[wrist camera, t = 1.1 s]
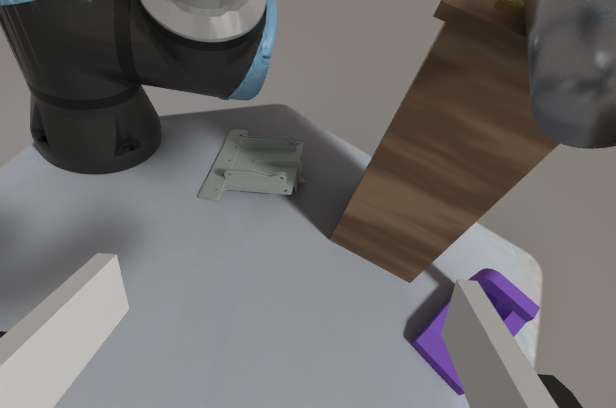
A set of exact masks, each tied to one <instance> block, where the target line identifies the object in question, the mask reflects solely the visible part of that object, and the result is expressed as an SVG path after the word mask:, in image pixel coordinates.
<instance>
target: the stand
mask: <svg viewBox="0 0 616 408" xmlns="http://www.w3.org/2000/svg"><path fill="white" fill-rule="evenodd" d="M493 6H494V0H441V2H440V4H439V6H438V8H437V10H436V12H435V14H434V17H436V18H438V19H440V20H443V21H445V22H444V24H443V26H442V28H441V30H440V32H439V34H438V35H437V37H436V39H435V41H434V43H433V45H432V46H431V48H430V50H429V52H428V54H427V56H426V58H425V60H424V62H423V63H422V65H421V67H420V69H419V71H418V73H417V75H416V77H415V78H414V80H413V82H412V84H411V86H410V88H409V90H408V91H407V93H406V95H405V97H404V99H403V101H402V103H401V105H400V106H399V109H398V110H397V112H396V114H395V116H394V118H393V120H392V122H391V123H390V125H389V127H388V129H387V131H386V133H385V135H384V137H383V138H382V140H381V142H380V144H379V146H378V148H377V149H376V151H375V153H374V155H373V157H372V159H371V161H370V163H369V164H368V166H367V168H366V170H365V172H364V174H363V176H362V178H361V179H360V181H359V183H358V185H357V187H356V189H355V191H354V193H353V195H352V197H351V199H350V201H349V203H348V204H347V206H346V208H345V210H344V212H343V214H342V216H341V218H340V220H339V222H338V224H337V226H336V228H335V230H334V232H333V234H332V236H331V238H330V239H329V240H331V241H333V242H334V243H336V244H338V245H340V246H342V247H344V248H346V249H348V250H349V251H351V252H353V253H355V254H357V255H359V256H361V257H363V258H365V259H366V260H368V261H370V262H372V263H374V264H376V265H378V266H380V267H381V268H383V269H385V270H387V271H389V272H391V273H393V274H395V275H396V276H398V277H400V278H402V279H404V280H406V281H408V282H410V283H411V282H412V281H413V280H414V279H415V278H416V277H417V276H418V275H419V274H420V273H421V272H422V271H423V270H425V269H426V268H427V267H428V266H429V265H430V264H431V263H432V262H433V261H434V260H435V259H436V258H437V257H439V256H440V255H441V254H442V253H443V252H444V251H445V250H446V249H447V248H448V247H449V246H450V245H451V244H452V243H454V242H455V241H456V240H457V239H458V238H459V237H460V236H461V235H462V234H463V233H464V232H465V231H466V230H467V229H469V228H470V227H471V226H472V225H473V224H474V223H475V222H476V221H477V220H478V219H479V218H480V217H481V216H482V215H484V214H485V213H486V212H487V211H488V210H489V209H490V208H491V207H492V206H493V205H494V204H495V203H496V202H497V201H498V200H500V199H501V198H502V197H503V196H504V195H505V194H506V193H507V192H508V191H509V190H510V189H511V188H512V187H514V186H515V185H516V184H517V183H518V182H519V181H520V180H521V179H522V178H523V177H524V176H525V175H526V174H528V173H529V171H531V170H532V169H533V168H534V167H535V166H536V165H537V164H538V163H539V162H540V161H542V160H543V159H544V158H545V157H546V156H547V155H548V154H549V153H550V152H551V151H552V150H553V149H554V148H555V147H557V146H558V145H559V144H560V143H558V142H556V141H554V140H552V139H551V138H549V137H548V136H546V135H545V134H544V133H543V132H542V131H541V130H540V129H539V128H538V126H537V125H536V123H535V121H534V119H533V115H532V112H531V97H530V82H529V67H528V52H527V36H526V21H525V20H523V19H521V18H518V17H516V16H514V15H511V14H509V13H507V12H504V11H502V10H500V9H497V8H495V7H493Z"/></svg>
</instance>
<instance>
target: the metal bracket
mask: <svg viewBox="0 0 616 408" xmlns="http://www.w3.org/2000/svg"><path fill="white" fill-rule="evenodd" d="M248 134H249V132H248V131H247V130H240V129H232V130H230V131H229V133H228V135H227V137H226V139H225V141H224V145H223V147H222V149H221V151H220V153H219V155H218V157H217V159H216V161H215V163H214V165H213V167H212V169H211V171H210V173H209V175H208V177H207V179H206V180H205V181H204V183H203V185H202V187H201V189H200V191H199V193H198V195H197V197H198V198H200V199H209V200H219V199H220V198H221V195H222V193H223V191H224V190H235V191H248V192H260V193H273V194H285V195H290V194H292V191H293V187H294V188H295V192H296V191H297V187H298V183H304V184H305V181H306V180H305V178H304V179H303V178H301V175H302V168H303V161H300V158H301V154H302V150H303V146H304V142H296V140H295V139H293V138H289V139H285V140H282V141H280V140H276V139H273V138H269V137H264V136H248ZM296 144H299V145H296ZM223 174H224V175H223ZM215 190H217V191H215ZM284 190H287V192H284Z"/></svg>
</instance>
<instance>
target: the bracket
mask: <svg viewBox="0 0 616 408" xmlns="http://www.w3.org/2000/svg"><path fill="white" fill-rule="evenodd" d="M469 280H471V281H478V283H479V285H480V286H481V288H482V289H483V291H484V292H485V294H486V295H487V297H488V299H489V300H490V302H491V303H492V305H493V306H494V308H495V309H496V311H497V313H498V314H499V316H500V317H501V319H502V320H503V322H504V323H505V325H506V327H507V328H508V330H509V331H510V333H511V334H512V336H513V337H514V336H515V335H516V334H517V333H518V331H519V330H520V329H521V328H522V327H523V326H524V324H525V323H526V322H528V321H530V320H532V319H534V318H535V316H536V314H537V312H538V310H539V308H540V307H539V306H537V305H536V304H535V303H534V302H533V301H532V300H530V299H529V298H528V297H527V296H526V295H525V294H524V293H522V292H521V291H520V290H519V289H518V288H517V287H516V286H514V285H513V284H512V283H511V282H510V281H509V280H508V279H506V278H505V277H504V276H503V275H502V274H501V273H499V272H498V271H496V270H493V269H482V270H481V271H479V272H478V273H477V274H475V275H474V276H473V277H471V278H470V279H469ZM451 297H452V295H451ZM451 297H450V298H449V299H448V300H447V301H446V303H445V304H444V305H443V306H442V307H441V309H440V310H439V311H438V312H437V313H436V315H435V316H434V317H433V318H432V319H431V321H430V322H429V323H428V324H427V325H426V327H425V328H424V329H423V330H422V331H421V333H420V334H419V335H418V336H417V337H416V339H415V340H414V341H413V342H412V343H411V345H412V346H413V347H414V348H415V349H416V350H417V351H418V352H419V353H420V354H421V355H422V356H423V357H424V358H425V359H426V361H427V362H428V363H429V364H430V365H431V366H432V367H433V368H434V369H435V370H436V371H437V372H438V373H439V374H440V376H441V377H442V378H443V379H444V380H445V381H446V382H447V383H448V384H449V385H450V386H451V387H452V388H453V389H454V391H455V392H456V393H457V394H458V395H461V394H464V391H463V388H462V386H461V383H460V381H459V378H458V375H457V373H456V370H455V368H454V365H453V363H452V360H451V358H450V355H449V353H448V350H447V348H446V345H445V343H444V340H443V337H442V335H441V332H442V328H443V325H444V322H445V318H446V315H447V311H448V308H449V304H450V301H451Z"/></svg>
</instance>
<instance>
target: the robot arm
mask: <svg viewBox="0 0 616 408" xmlns="http://www.w3.org/2000/svg"><path fill="white" fill-rule="evenodd" d="M0 25H1V27H2V30H3V32H4V34H5V36H6V38H7V41H8V43H9V45H10V47H11V49H12V52H13V54H14V56H15V58H16V60H17V63H18V65H19V67H20V69H21V72H22V74H23V76H24V78H25V80H26V82H27V85H28V87H29V89H30V92H31V112H30V115H31V116H30V129H31V134H32V137H33V140H34V142H35V144H36V146H37V148H38V150H39V151H40V153H41V154H42V156H43V157H44V158H45V159H46V160H48V161H49V162H50V163H52V164H54V165H55V166H57V167H60V168H62V169H65V170H68V171H72V172H76V173H83V174H108V173H114V172H119V171H123V170H126V169H129V168H132V167H134V166H137V165H139V164H140V163H142V162H144V161H145V160H147V159H148V158H149V157H151V156H152V155H153V154H154V153H155V151H156V150H157V149H158V147H159V145H160V142H161V137H162V134H161V125H160V120H159V117H158V114H157V112H156V111H155V109H154V107H153V105H152V103H151V102H150V100H149V98H148V96H147V95H146V93H145V91H144V89H143V87H142V86H141V84H142V85H148V86H155V87H161V88H166V89H173V90H179V91H185V92H191V93H197V94H203V95H209V96H214V97H219V98H220V99H223V100H229V99H236V100H250V99H252V98H254V97H255V96H256V95H257V94H258V93H259V91H260V90H261V88H262V85H263V83H264V80H265V78H266V75H267V71H268V68H269V59H270V57H271V55H272V51H273V47H274V42H275V35H276V28H277V4H276V1H275V0H0ZM128 310H129V306H128V302H127V298H126V293H125V289H124V285H123V280H122V276H121V272H120V267H119V263H118V259H117V254H103V253H97V254H96V255H95V256H94V257H92V258H91V259H90V260H89V261H88V262H87V263H86V264H84V265H83V266H82V267H81V268H80V269H79V270H78V271H76V272H75V273H74V274H73V275H72V276H71V277H70V278H68V279H67V280H66V281H65V282H64V283H63V284H62V285H60V286H59V287H58V288H57V289H56V290H55V291H54V292H52V293H51V294H50V295H49V296H48V297H47V298H46V299H44V300H43V301H42V302H41V303H40V304H39V305H38V306H37V307H35V308H34V309H33V310H32V311H31V312H30V313H29V314H27V315H26V316H25V317H24V318H23V319H22V320H21V321H19V322H18V323H17V324H16V325H15V326H14V327H13V328H11V329H10V330H9V331H8V332H2V331H1V332H0V408H53V407H54V406H55V405H56V403H57V402H58V401H59V399H60V398H61V397H62V396H63V394H64V393H65V392H66V390H67V389H68V388H69V386H70V385H71V384H72V383H73V381H74V380H75V379H76V377H77V376H78V375H79V373H80V372H81V371H82V370H83V368H84V367H85V366H86V364H87V363H88V362H89V361H90V359H91V358H92V357H93V355H94V354H95V353H96V351H97V350H98V349H99V348H100V346H101V345H102V344H103V342H104V341H105V340H106V338H107V337H108V336H109V335H110V333H111V332H112V331H113V329H114V328H115V327H116V326H117V324H118V323H119V322H120V320H121V319H122V318H123V316H124V315H125V314H126V313H127V311H128ZM441 335H442V337H443V340H444V343H445V345H446V348H447V350H448V353H449V355H450V358H451V360H452V363H453V365H454V368H455V370H456V373H457V375H458V378H459V381H460V383H461V386H462V388H463V391H464V393H465V396H466V398H467V401H468V403H469V406H470V408H583V407H582V406H581V405H580V403H579V402H578V401H577V399H576V398H575V396H574V395H573V393H572V392H571V391H569V389H567V388H566V387H565V386H564V385H563V384H562V383H561V382H560V381H559V380H557V379H556V378H555V377H554V376H553V375H540V374H536V372H535V370H534V369H533V367H532V366H531V364H530V362H529V361H528V359H527V358H526V356H525V355H524V353H523V352H522V350H521V348H520V347H519V345H518V344H517V342H516V341H515V339H514V338H513V336H512V334H511V333H510V331H509V330H508V328H507V327H506V325H505V323H504V322H503V320H502V319H501V317H500V316H499V314H498V313H497V311H496V309H495V308H494V306H493V305H492V303H491V302H490V300H489V299H488V297H487V295H486V294H485V292H484V291H483V289H482V288H481V286H480V285H479V283H478V281H471V280H458V279H457V280H456V283H455V287H454V290H453V294H452V297H451V301H450V304H449V308H448V311H447V315H446V318H445V322H444V325H443V328H442V332H441Z"/></svg>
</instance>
